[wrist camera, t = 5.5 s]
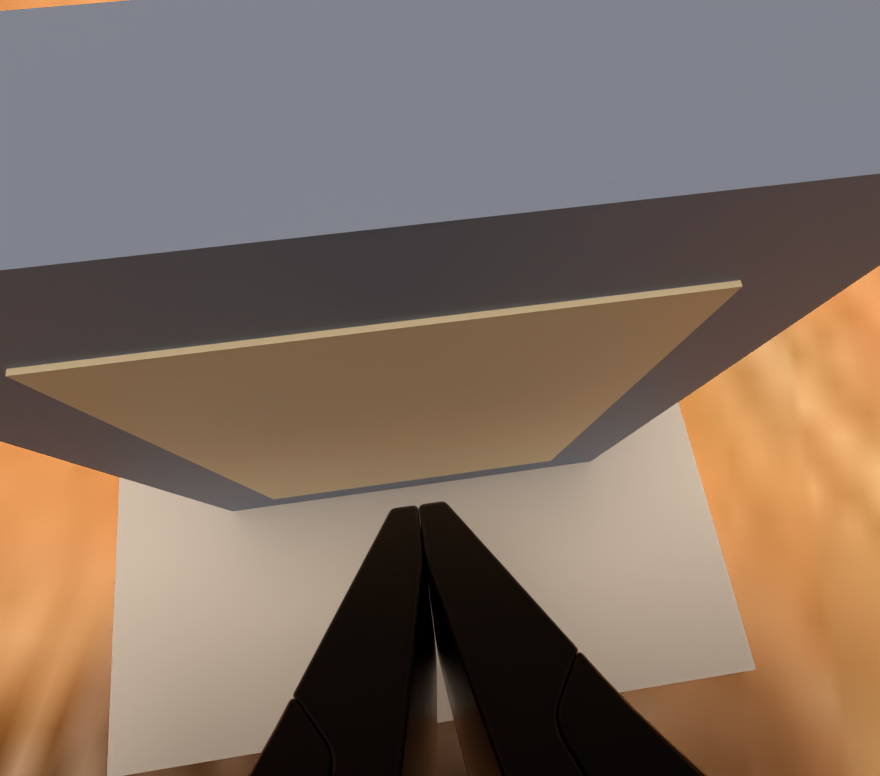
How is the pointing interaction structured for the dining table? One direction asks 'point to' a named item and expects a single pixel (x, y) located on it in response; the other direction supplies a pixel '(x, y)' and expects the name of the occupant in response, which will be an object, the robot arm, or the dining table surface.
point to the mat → (343, 551)
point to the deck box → (411, 226)
